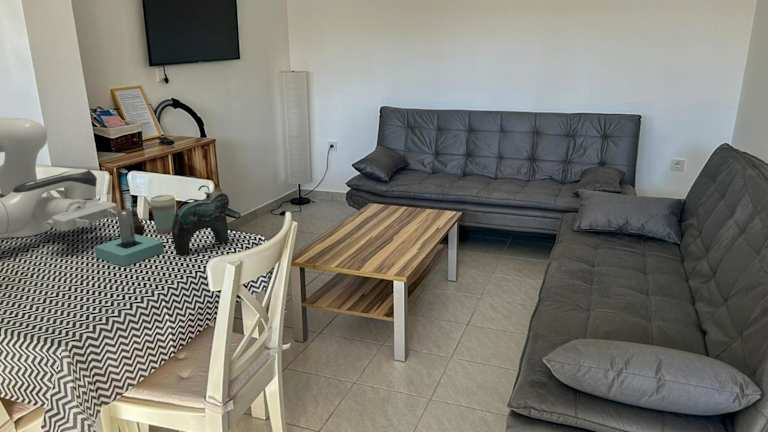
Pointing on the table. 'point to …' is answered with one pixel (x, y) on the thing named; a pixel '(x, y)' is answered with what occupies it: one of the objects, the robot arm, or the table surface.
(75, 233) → the table surface
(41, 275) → the table surface
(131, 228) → the steel pin
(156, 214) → the coffee cup
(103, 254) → the socket block
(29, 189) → the robot arm
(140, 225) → the hand tool
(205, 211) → the ceramic cat
